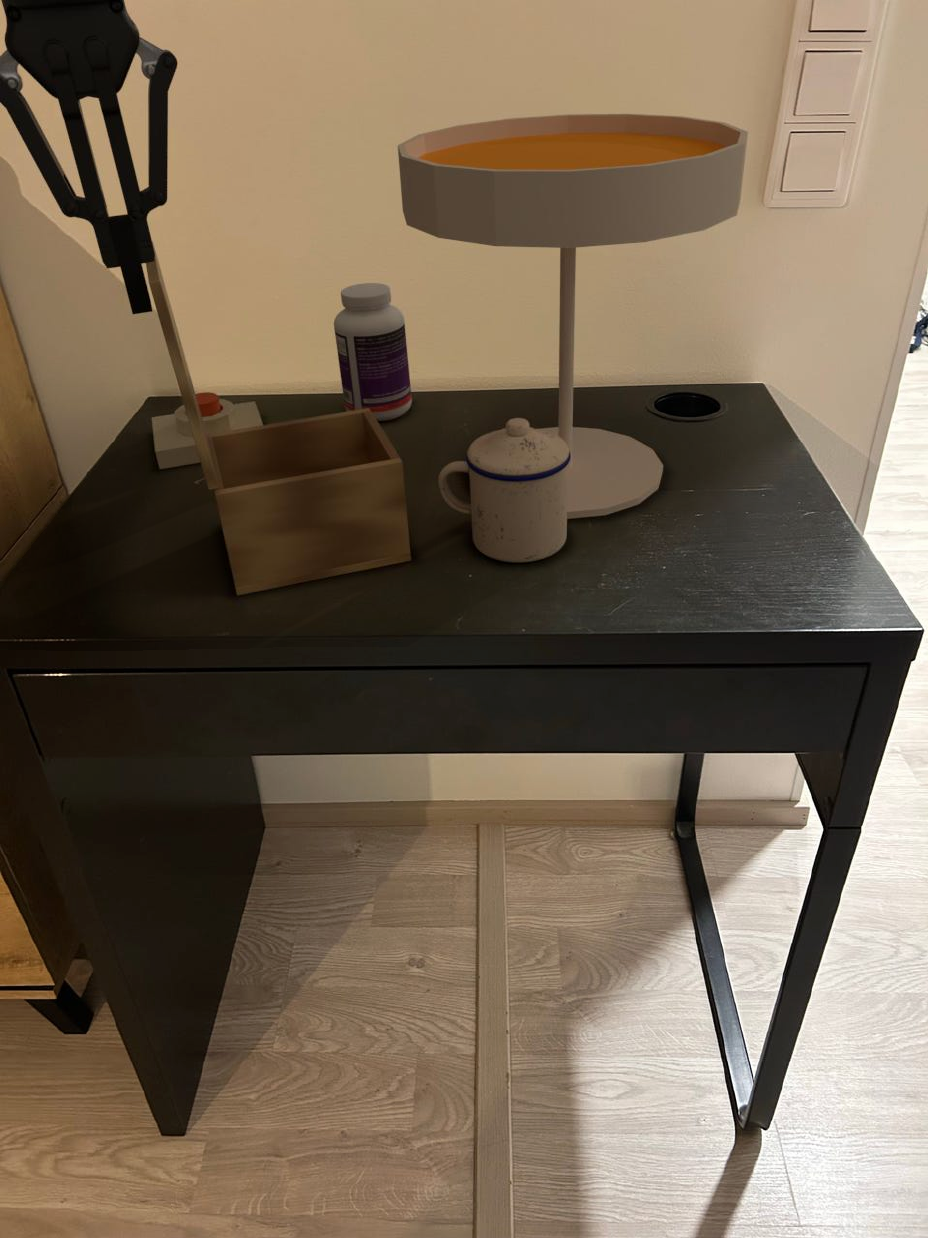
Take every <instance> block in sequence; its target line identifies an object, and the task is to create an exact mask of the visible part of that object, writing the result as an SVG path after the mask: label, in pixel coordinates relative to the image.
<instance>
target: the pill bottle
mask: <svg viewBox="0 0 928 1238" xmlns="http://www.w3.org/2000/svg"><path fill="white" fill-rule="evenodd" d="M391 293H392V292H391V287H390V286H389V285H387V284H385V283H379V282H365V283H357V284H353V285H349V286H346V287H344V288H343V289H341V291H340V298H341V304H342V306H343V307H344V308H343V309H342V310H341V311H339V313H338V314H337V315H336V316H335V318H334V321H333V328H334V336H335V344H336V350H337V351H336V352H337V358H338V366H339V374H340V381H341V389H342V396H343V403H344V404H343V405H344V409H345V412H348V411H354V410H360V409H366V408H369V409H370V411H371V412H372V414H373V415H374V417H375V418H376V420H377V422H386V421H392V420H395V419H397V418H399V417H402V416H403V415H404V414H406V413H407V412H408V411H409V409H410V408H411V406H412V404H413V397H412V388H411V379H410V367H409V366H410V365H409V357H408V356H409V355H408V344H407V336H406V335H407V334H406V323H405V317H404V314H403V312H402V311H401V310H400V309H399V308H398V307H396V306H394V305H392V304H391V302H392V294H391Z"/></svg>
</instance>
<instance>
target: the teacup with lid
mask: <svg viewBox="0 0 928 1238" xmlns="http://www.w3.org/2000/svg"><path fill="white" fill-rule="evenodd" d="M538 429H539V428H534V427H531V426H530V422H529V421H528V420H527V419H525V418H522V417H514V418H510V419H509V420H508V421H507V422H506V423H505V428H502V429H498V430H493V431H491V432H487V433H486V434H483V435H481V436H480V437H478V438H476V439H475V440H474V441H473V442H472V443H471V444H470V445H469V447H468V449H467V453H466V455H465V460H463V461H462V460H458V461H457V460H456V461H452V462H449V463H448V464H446V465H445V466H444V467H443V468H442V469H441V471H440V473H439V475H438V479H437V481H438V482H437V483H438V484H437V485H438V489H439V493H440V495H441V497H442V499H443V500H444V502H445V503H446V504H447V505H448V506H449V507H450V508H451V509H453V510H454V511H456V512H458V513H460V514H463V515H469V516H471V530H472V533H471V534H472V542H473V543H474V546H475V548H476V550H478V551H479V552H480V553H481V554H483V555H484V556H486V557H488V558H491V559H494V560H495V561H496V560H497V561H500V562H507V563H529V562H530V563H531V562H536V561H540V560H543V559H546V558H548V557H552V556H553V555H555V554H556V553H557V552H559V551H560V550H561V549H562V548H563V546H564V545H565V543H566V542H567V541H566V540H567V538H568V537H567V536H568V535H567V533H568V532H567V531H568V519H567V480H568V463H569V461H570V458H571V454H570V451H569V448H568V446H567V444H566V443H565V441H564V440H563V439H561V438H560V437H559V436H557V435H555V434H553V433H550V432H547V431H543V430H538ZM452 473H465V474H466V473H467V474H469V473H470V476H469V490H470V491H469V492H470V503H468V502H464V501H462V500H460V499H459V498H458V497H456V496H455V494H454V493H453V492H452V489H451V488H450V485H449V480H448V479H449V475H450V474H452Z"/></svg>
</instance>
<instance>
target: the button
mask: <svg viewBox="0 0 928 1238" xmlns="http://www.w3.org/2000/svg"><path fill="white" fill-rule="evenodd" d="M195 394H196V398H197V401H198V405H199V408H200V412H201V416H202V417H207V416H212V415H215V414H217V413H219V412H220V411H221V408H220V403H219V399H220V398H219V395H218V394H217V393H215V392H209V391H208V392H207V391H203V392H198V393H195Z"/></svg>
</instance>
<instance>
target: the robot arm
mask: <svg viewBox="0 0 928 1238" xmlns="http://www.w3.org/2000/svg"><path fill="white" fill-rule="evenodd" d="M0 1H1V5H2V8H3V11H4V15H5V21H6V25H5V27H6V28H5V33H4V44H5V48H6V50H5V51H4V52H3V53H2V54H1V55H0V104H1V105H2V106H3V107H4V108H5V110H6V111H7V113H8V115H9V117H10V118H11V120H12V122H13V124H14V126H15V128H16V130H17V132H18V133H19V135H20V137H21V139H22V141H23V143H24V145H25V146H26V148H27V150H28V152H29V154H30V157H32V160H33V161H34V163H35V165H36V167H37V169H38V170H39V172H40V174H41V176H42V179H43V180H44V182H45V184H46V185H47V187H48V189H49V191H50V193H51V195H52V197H53V198H54V200H55V202H56V204H57V205H58V207H59V209H60V211H61V213H62V214H63V215H64V216H65V217H67V218H77V219H81V220H85V221H87V222H89V224H90V225H91V226H92V228H93V231H94V235H95V238H96V242H97V246H98V249H99V254H100V257H101V261H102V263H103V264H104V266H105V268H106V269H115V268H120V271H121V275H122V279H123V283H124V286H125V291H126V294H127V298H128V301H129V305H130V309H131V313H132V315H139V314H144V313H145V314H146V313H151V312H153V307H152V306H153V305H152V302H151V301H152V300H151V297H150V292H149V288H148V284H147V281H146V276H145V272H144V268H143V264H146V263H148V262H153V261H154V258H155V252H154V248H153V244H154V242H153V243H152V241H153V239H152V236H151V232H150V227H149V224H148V215H149V214H150V212H152V211H153V210H155V209H157V208H158V207H163V206H164V205H166V203H167V202H168V174H169V173H168V172H169V171H168V169H169V168H168V166H169V165H168V163H169V162H168V160H169V158H168V157H169V156H168V155H169V152H168V151H169V150H168V149H169V148H168V147H169V146H168V145H169V144H168V143H169V91H170V88H171V85H172V82H173V80H174V76H175V74H176V71H177V68H178V59H177V57H176V55H174V53H173V52H171V50H168V49H162V48H161V47H158V46H157V45H155V44H153V43H152V42H150V41H148V40H147V39H144V38H143V37H141V35H140V31H139V29H138V26H137V25H136V23H135V22H134V20H133V19H132V18H131V16H130V15H129V13H128V10H127V7H126V3H125V0H0ZM136 55H138V56H139V58H140V61H141V64H140V68H141V72H142V74H143V76H144V77H145V78H146V79H148V87H147V88H148V89H147V117H148V118H147V125H148V126H147V134H148V135H147V139H148V140H147V141H148V142H147V145H148V147H147V149H148V150H147V151H148V155H147V156H148V157H147V159H148V160H147V163H148V166H147V167H148V171H147V172H148V173H147V175H148V186H147V187H145V188H144V189H142V190H140V185H139V180H138V176H137V172H136V169H135V165H134V164H135V163H134V161H133V155H132V152H131V148H130V143H129V140H128V135H127V130H126V127H125V123H124V118H123V113H122V110H121V105H120V102H119V98H118V93H120V92H121V90H122V88H123V87H124V84H125V81H126V79H127V77H128V75H129V72H130V70H131V66H132V63H133V61H134V59H135V56H136ZM19 66H21V68H23V69H24V70H25V71H26V73H28V74H29V76H30V77H31V78H33V79H34V80H35V81H36V82H37V83H38V84H39V85H40V86H41V87H42V88H43V89H44V90H45V91H46V93H48V94H49V95H50V96H52V97H53V98H54V99H57V100H58V101H57V102H58V105H59V108H60V112H61V116H62V119H63V121H64V126H65V129H66V133H67V137H68V140H69V143H70V144H69V145H70V147H71V151H72V155H73V159H74V162H75V165H76V170H77V172H78V173H77V174H78V177H79V180H80V185H81V188H82V192H83V196H84V197H83V196H79V195H77V194H76V192H75V190H74V188H73V186H72V184H71V182H70V180H69V178H68V177H67V174H66V173H65V170H64V168H63V167H62V165H61V163H60V161H59V159H58V157H57V156H56V154H55V151H54V150H53V148H52V146H51V144H50V143H49V141H48V138H47V136H46V135H45V133H44V131H43V129H42V127H41V125H40V123H39V121H38V120H37V117H36V116H35V113H34V112H33V110H32V108H31V106H30V104H29V102H28V101H27V99H26V97H25V96H24V95H23V94H22V92H21V91H22V90H23V87H24V79H23V78H22V76H21V74H20V72H19ZM88 97H89V98H93V99H94V98H95V99H98V102H99V107H100V110H101V114H102V118H103V121H104V126H105V130H106V135H107V138H108V141H109V145H110V149H111V153H112V156H113V161H114V165H115V169H116V173H117V177H118V181H119V185H120V189H121V192H122V193H121V194H122V197H123V201H124V205H125V209H126V214H117V215H109V212H108V211H109V209H108V205H107V202H106V199H105V198H106V197H105V194H104V190H103V187H102V182H101V178H100V175H99V170H98V167H97V163H96V159H95V155H94V152H93V148H92V143H91V140H90V135H89V132H88V128H87V124H86V121H85V117H84V113H83V107H82V103H81V100H83V99H85V98H88Z"/></svg>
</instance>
